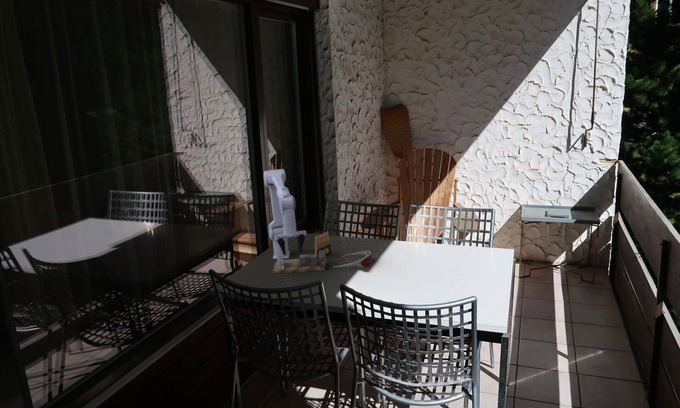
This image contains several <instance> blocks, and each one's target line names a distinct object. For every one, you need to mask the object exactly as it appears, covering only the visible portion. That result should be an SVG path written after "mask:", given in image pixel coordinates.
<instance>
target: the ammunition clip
mask: <svg viewBox="0 0 680 408" xmlns="http://www.w3.org/2000/svg"><path fill="white" fill-rule="evenodd" d="M331 246H332V245H331V242H330V235H329V231H328V230H326V231H324V232H322V233H320V234H317V235H315V236H314V254H317V260H319V250H325V253H326V257H328V256H330V255H332V247H331Z"/></svg>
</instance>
